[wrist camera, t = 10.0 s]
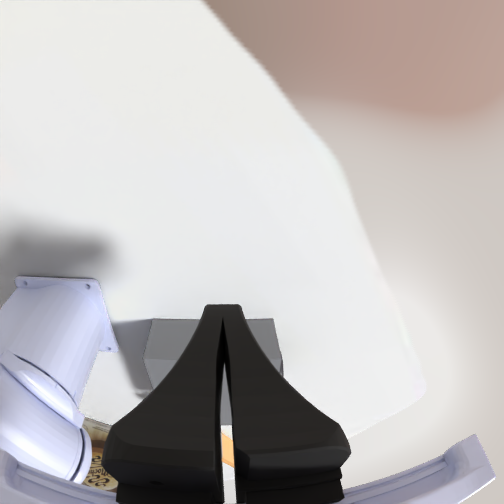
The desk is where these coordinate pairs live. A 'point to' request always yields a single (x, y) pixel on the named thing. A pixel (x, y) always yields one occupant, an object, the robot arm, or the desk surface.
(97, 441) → the coffee box
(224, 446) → the side door
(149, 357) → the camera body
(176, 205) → the desk surface
